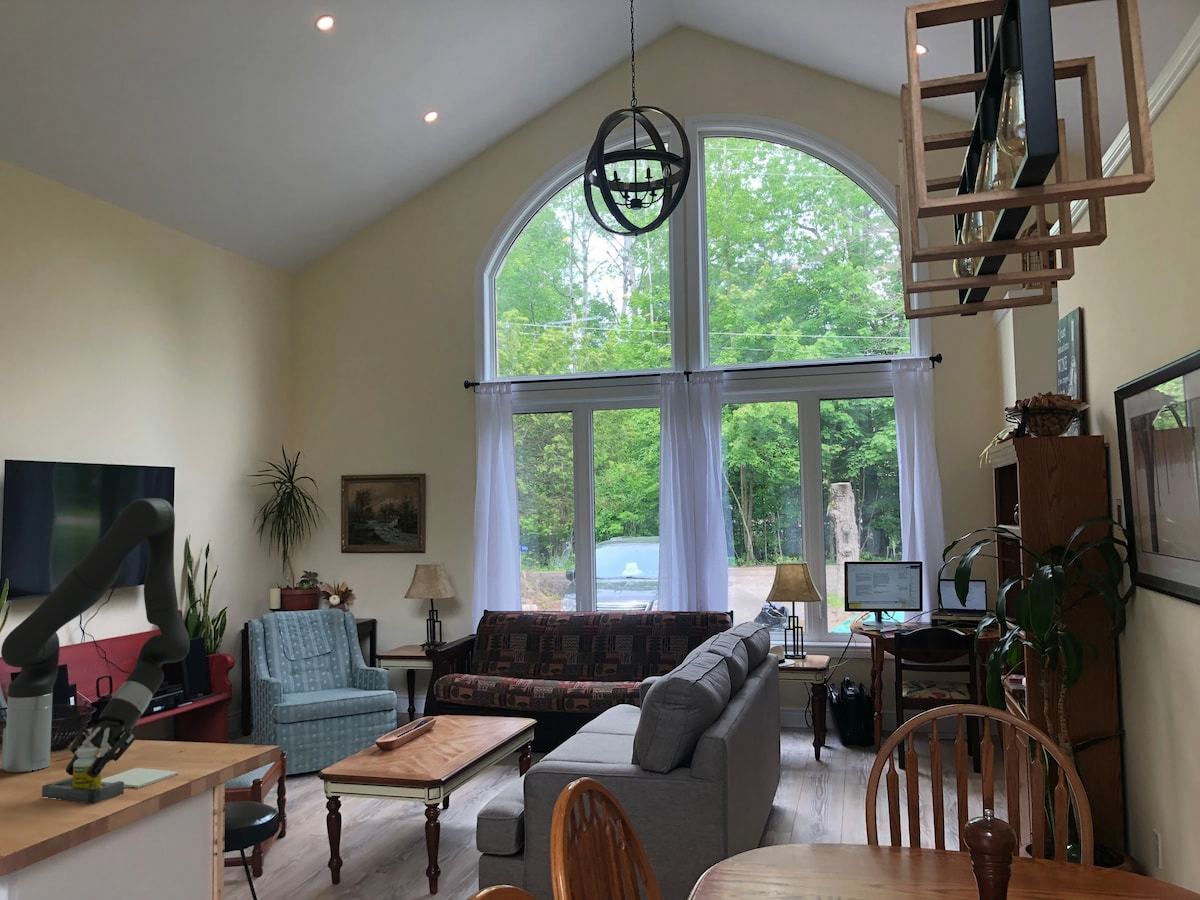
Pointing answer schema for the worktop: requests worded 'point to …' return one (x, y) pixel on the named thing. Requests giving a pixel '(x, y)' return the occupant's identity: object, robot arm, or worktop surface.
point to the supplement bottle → (85, 769)
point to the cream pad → (139, 777)
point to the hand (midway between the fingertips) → (80, 774)
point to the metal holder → (81, 791)
